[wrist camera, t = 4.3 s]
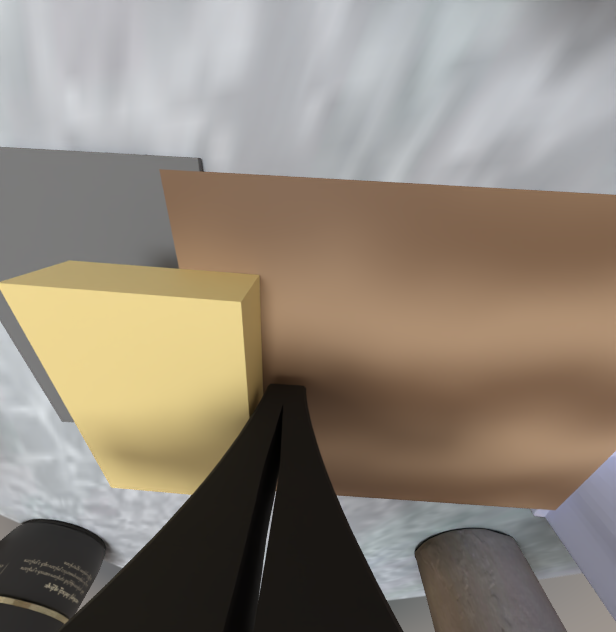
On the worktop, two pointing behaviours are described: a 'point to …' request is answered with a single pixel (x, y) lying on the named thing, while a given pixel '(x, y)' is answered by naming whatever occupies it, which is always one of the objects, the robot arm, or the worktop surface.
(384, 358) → the plate
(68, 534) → the jar
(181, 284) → the yellow block
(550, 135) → the worktop surface
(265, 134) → the worktop surface
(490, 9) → the worktop surface
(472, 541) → the pillar candle
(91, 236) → the mat
